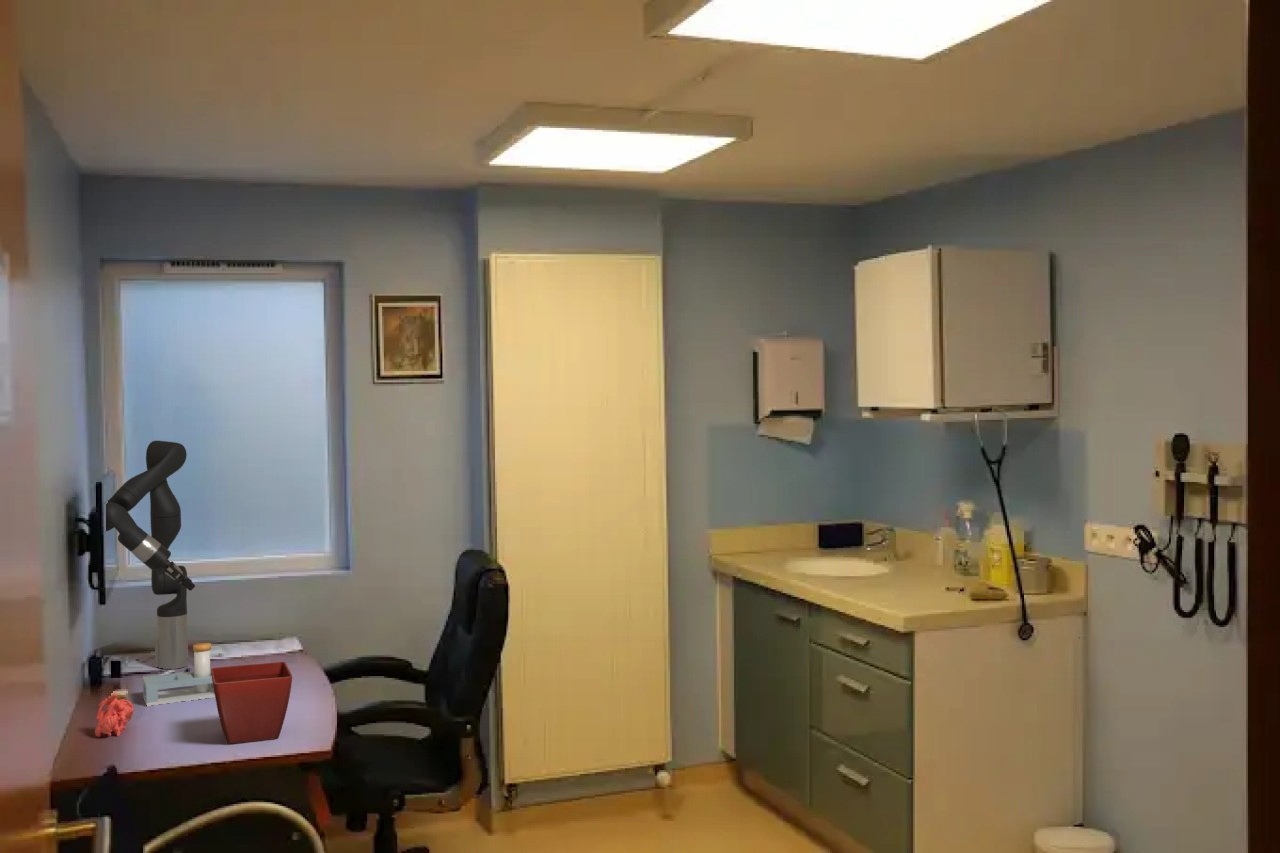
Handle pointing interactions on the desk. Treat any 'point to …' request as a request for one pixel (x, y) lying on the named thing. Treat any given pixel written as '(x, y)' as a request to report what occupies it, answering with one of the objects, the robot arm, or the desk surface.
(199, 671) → the orange ball-topped peg
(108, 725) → the anatomical heart
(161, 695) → the grey hollow block
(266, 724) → the plant pot
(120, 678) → the desk surface
